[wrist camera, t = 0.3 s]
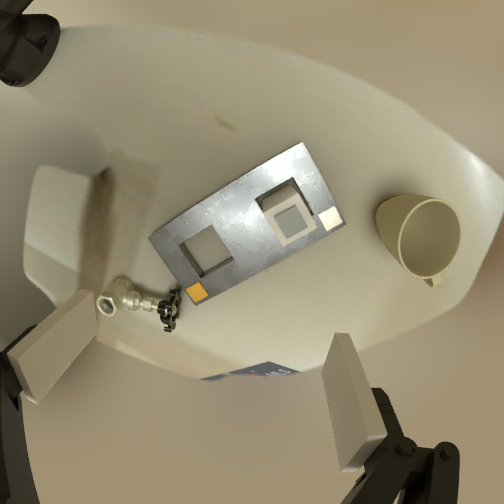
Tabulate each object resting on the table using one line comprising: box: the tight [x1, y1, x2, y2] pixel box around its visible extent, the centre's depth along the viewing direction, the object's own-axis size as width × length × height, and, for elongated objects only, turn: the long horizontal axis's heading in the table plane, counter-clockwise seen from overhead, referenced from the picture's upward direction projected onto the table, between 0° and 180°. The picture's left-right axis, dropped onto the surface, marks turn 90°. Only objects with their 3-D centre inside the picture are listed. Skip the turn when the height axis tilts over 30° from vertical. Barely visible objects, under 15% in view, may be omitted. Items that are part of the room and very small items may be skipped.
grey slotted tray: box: [148, 142, 346, 306], centre depth 37 cm, size 12×24×2 cm, turn 121°
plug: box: [263, 184, 317, 247], centre depth 32 cm, size 4×4×11 cm
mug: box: [375, 194, 462, 287], centre depth 32 cm, size 11×10×12 cm
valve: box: [96, 277, 182, 333], centre depth 40 cm, size 7×7×12 cm
